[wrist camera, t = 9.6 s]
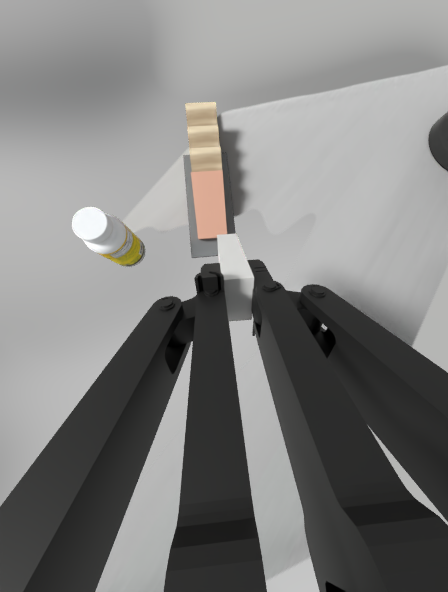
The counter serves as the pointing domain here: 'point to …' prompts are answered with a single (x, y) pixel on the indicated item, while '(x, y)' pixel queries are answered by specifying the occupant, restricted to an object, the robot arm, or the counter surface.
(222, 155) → the mat
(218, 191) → the domino
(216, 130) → the domino
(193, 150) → the domino
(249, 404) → the counter surface
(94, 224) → the pill bottle
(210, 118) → the domino
